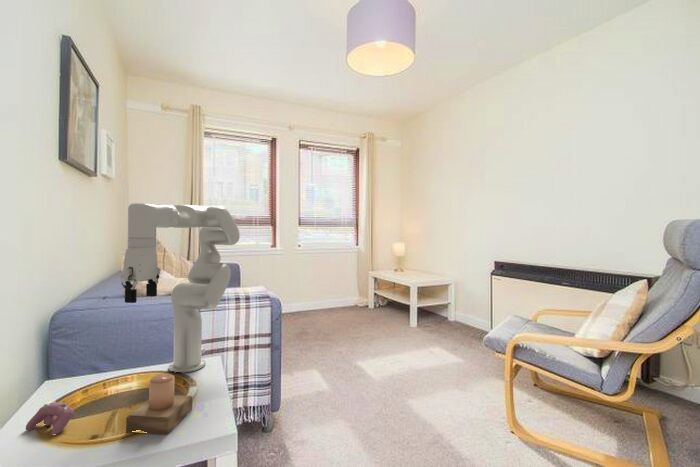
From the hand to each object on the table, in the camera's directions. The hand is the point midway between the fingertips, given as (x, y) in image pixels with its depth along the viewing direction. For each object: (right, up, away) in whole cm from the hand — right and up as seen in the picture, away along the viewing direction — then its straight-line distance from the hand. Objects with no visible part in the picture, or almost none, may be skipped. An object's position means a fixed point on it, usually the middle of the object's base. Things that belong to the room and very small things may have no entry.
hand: (141, 299), depth 106 cm
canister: (+13, -26, -12) cm, 32 cm away
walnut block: (+13, -31, -12) cm, 35 cm away
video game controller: (-14, -31, -17) cm, 37 cm away
